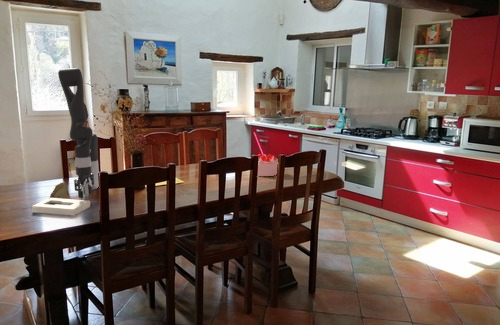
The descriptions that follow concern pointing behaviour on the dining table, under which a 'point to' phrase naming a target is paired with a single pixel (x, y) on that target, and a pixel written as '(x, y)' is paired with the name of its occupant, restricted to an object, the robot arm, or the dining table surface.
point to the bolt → (86, 193)
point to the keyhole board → (61, 206)
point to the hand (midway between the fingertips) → (85, 195)
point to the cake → (267, 165)
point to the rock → (60, 191)
